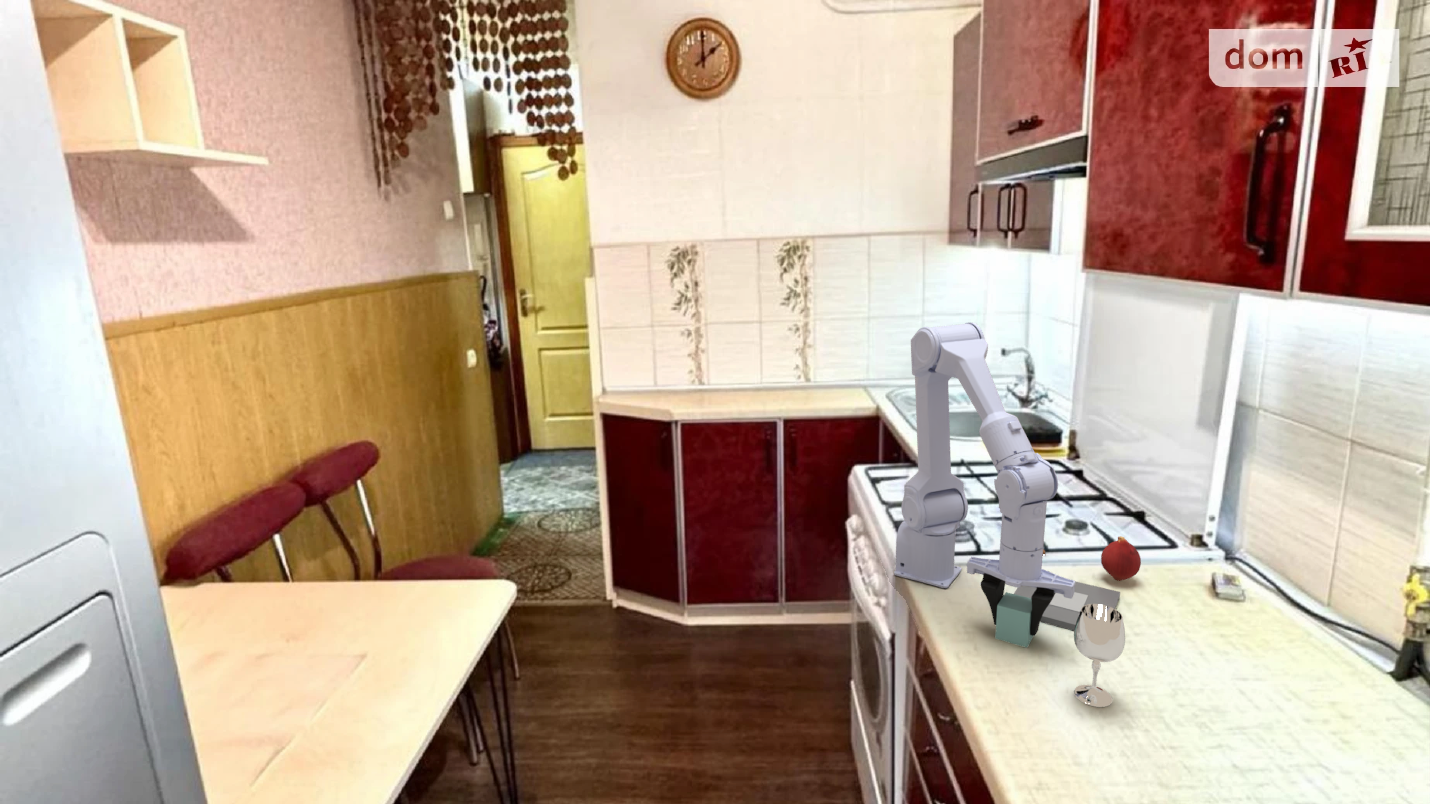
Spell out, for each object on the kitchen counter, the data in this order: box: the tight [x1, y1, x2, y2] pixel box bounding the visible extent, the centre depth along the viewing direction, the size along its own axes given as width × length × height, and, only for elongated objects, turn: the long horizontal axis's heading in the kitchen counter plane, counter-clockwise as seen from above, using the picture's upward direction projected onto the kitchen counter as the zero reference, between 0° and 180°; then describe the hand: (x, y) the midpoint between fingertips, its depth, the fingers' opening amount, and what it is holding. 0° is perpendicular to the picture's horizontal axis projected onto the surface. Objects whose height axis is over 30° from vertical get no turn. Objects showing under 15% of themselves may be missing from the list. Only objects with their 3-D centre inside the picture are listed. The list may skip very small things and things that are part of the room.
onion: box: [1100, 536, 1142, 582], centre depth 123 cm, size 6×6×8 cm
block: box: [994, 591, 1034, 648], centre depth 109 cm, size 4×4×6 cm
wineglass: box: [1073, 604, 1126, 708], centre depth 94 cm, size 6×6×12 cm
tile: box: [1013, 580, 1121, 631], centre depth 117 cm, size 14×14×1 cm
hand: (1015, 627), depth 109 cm, fingers closed on block, 4 cm apart
